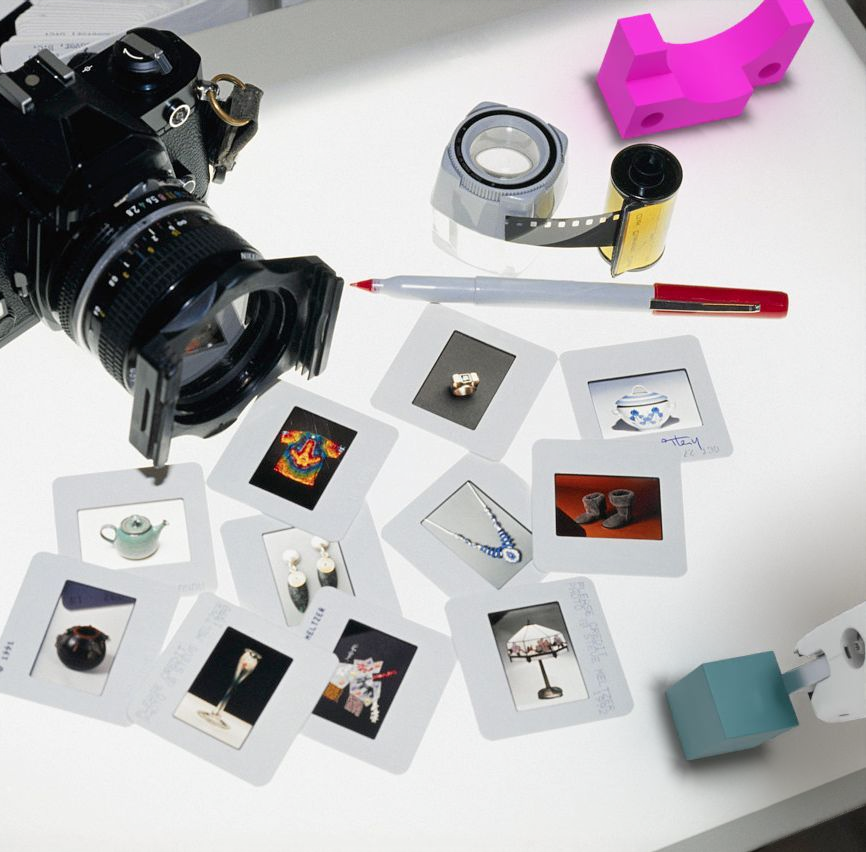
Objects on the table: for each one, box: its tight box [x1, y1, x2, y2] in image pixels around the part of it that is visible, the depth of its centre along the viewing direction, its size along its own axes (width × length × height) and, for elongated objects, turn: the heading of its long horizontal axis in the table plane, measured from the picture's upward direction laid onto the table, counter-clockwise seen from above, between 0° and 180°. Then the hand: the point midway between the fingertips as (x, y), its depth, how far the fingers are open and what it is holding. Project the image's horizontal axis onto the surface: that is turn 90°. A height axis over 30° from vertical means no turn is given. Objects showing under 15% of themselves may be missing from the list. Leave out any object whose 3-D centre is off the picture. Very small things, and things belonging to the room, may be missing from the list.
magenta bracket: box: [595, 0, 815, 140], centre depth 98 cm, size 15×6×8 cm, turn 104°
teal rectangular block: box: [664, 650, 800, 761], centre depth 77 cm, size 5×5×8 cm
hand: (824, 692), depth 78 cm, fingers closed
